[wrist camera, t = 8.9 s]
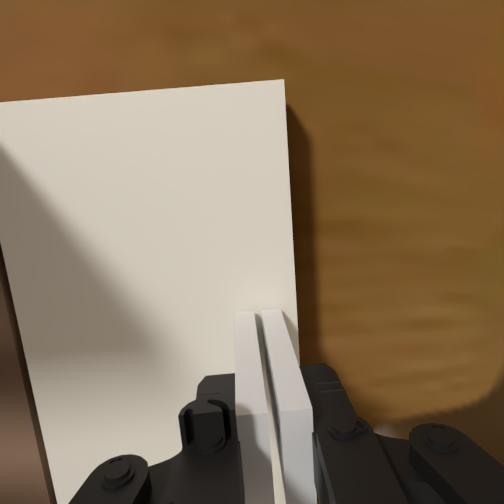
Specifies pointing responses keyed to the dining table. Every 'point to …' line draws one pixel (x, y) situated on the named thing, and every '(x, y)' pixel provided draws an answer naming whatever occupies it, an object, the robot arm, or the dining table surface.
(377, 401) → the dining table surface
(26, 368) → the crate
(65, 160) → the panel
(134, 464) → the robot arm
